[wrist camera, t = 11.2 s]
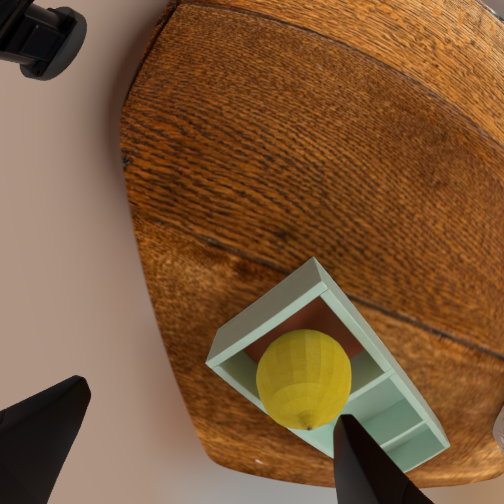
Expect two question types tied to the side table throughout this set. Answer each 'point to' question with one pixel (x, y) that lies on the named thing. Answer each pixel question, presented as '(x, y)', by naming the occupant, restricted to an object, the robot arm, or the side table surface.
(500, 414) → the planter
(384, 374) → the compartment tray
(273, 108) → the side table surface
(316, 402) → the fruit
